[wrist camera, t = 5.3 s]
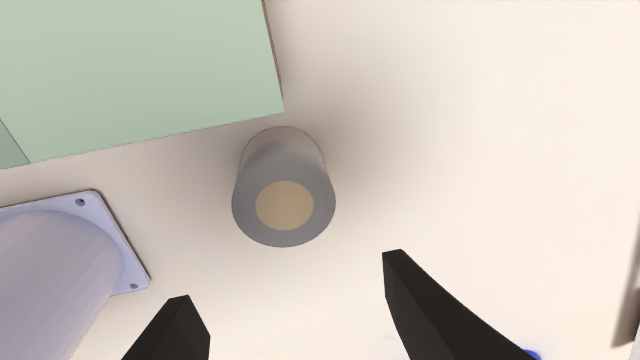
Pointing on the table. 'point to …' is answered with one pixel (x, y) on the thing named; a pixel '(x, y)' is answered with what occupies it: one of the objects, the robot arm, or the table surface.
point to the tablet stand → (636, 347)
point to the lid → (127, 72)
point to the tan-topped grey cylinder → (282, 189)
